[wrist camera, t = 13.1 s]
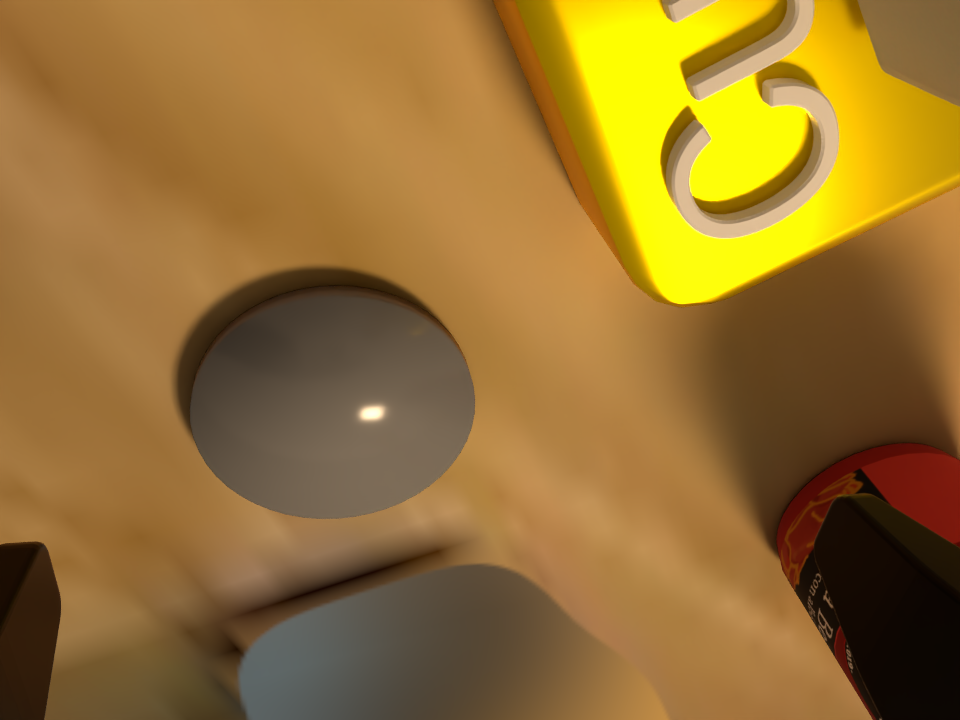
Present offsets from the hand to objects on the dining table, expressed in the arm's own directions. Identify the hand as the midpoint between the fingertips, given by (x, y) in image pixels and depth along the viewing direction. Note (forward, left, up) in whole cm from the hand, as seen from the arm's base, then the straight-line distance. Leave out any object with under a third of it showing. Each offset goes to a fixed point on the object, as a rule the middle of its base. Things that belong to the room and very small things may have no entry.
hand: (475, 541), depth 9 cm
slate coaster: (-1, -8, -13) cm, 15 cm away
